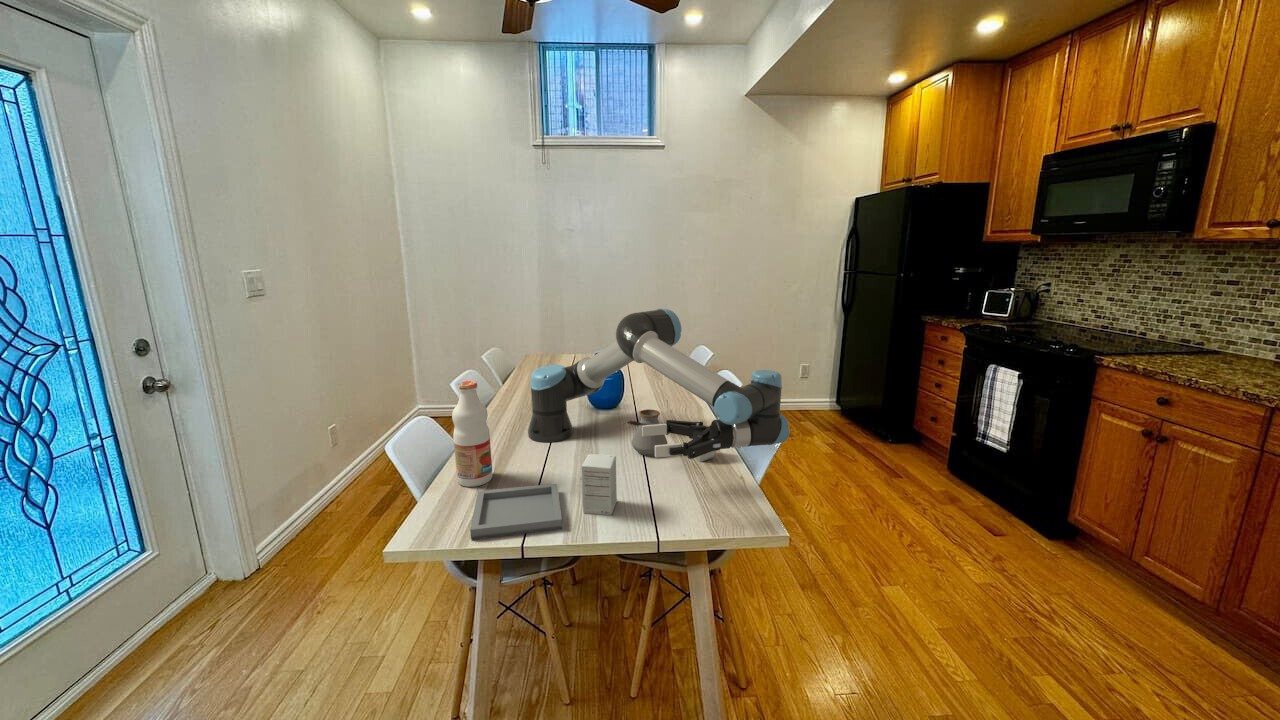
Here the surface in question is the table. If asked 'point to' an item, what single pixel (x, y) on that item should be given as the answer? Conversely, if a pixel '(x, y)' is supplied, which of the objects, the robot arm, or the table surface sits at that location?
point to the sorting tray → (516, 511)
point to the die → (706, 456)
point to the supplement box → (599, 484)
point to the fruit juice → (471, 438)
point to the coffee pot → (646, 443)
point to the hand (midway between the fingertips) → (648, 440)
